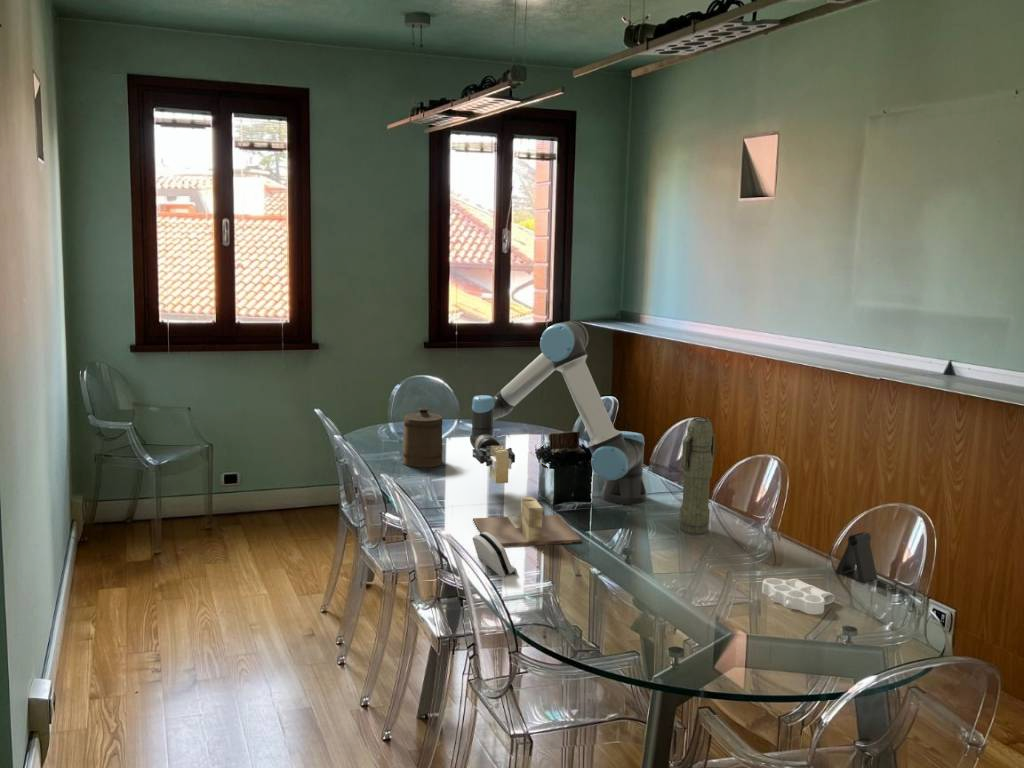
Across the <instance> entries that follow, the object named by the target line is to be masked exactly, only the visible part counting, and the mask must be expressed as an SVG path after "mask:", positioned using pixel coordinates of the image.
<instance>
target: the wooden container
mask: <svg viewBox="0 0 1024 768" xmlns="http://www.w3.org/2000/svg"><path fill="white" fill-rule="evenodd" d="M418 410H419V412H415V413H414V412H413V413H408V414H405V415H404V417H403V443H402V446H403V447H402V453H403V455H402V461H403V464H404V465H405V466H408V467H412V468H422V469H423V468H433V467H438V466H441V465H442V463H443V416H442V415H440V414H438V413H432V412H428V411H429V408H428V407H427V406H425V405H423V406H420V407H419V409H418Z"/></svg>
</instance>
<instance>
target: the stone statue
mask: <svg viewBox="0 0 1024 768" xmlns="http://www.w3.org/2000/svg"><path fill="white" fill-rule="evenodd" d="M686 432H687V433H686V435H685V436H684V438H683V440H682V451H681V453H682V454H681V467H682V476H683V484H682V485H683V489H682V502H681V503H682V504H681V506H680V509H679V531H680V532H681V533H684V534H688V535H693V536H699V535H706V534H707V533H708V532H709V525H710V511H711V510H710V507H709V503H710V502H709V500H710V498H709V496H710V488H711V487H710V483H711V482H710V481H711V478H712V476H713V466H714V462H715V447H716V446H715V445H716V436H715V433H713V432H714V428H713V425H712V421H711V420H709V419H708V418H704V417H695V418H692V419H690V421H689V423H688V425H687V430H686Z"/></svg>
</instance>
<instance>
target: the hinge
mask: <svg viewBox="0 0 1024 768" xmlns="http://www.w3.org/2000/svg"><path fill="white" fill-rule="evenodd" d="M472 541H473V545H474V549H475V553H476V555H477V558H478V559H480V560H481V561H482V562H483V563H484V564H485V565H487V566H488V568H490V569H491V570H493V572H495V573H496V574H497V575H498V576H499V577H500V578H505V577H506V575H507V574H512V573H514V574H515V575H516V576H517V575H519V573H518V570H517V568H516V567H515V566H514V565H512V564H511V561H510V559H509V556H508V555H507V551H506V549H505V547H503V546H502V545H501V544H500V542H499V541H498V540H497V539H496V538H495V537H494V536H492V535H491V534H490V533H488V532H483V533H479V535H478V534H475V535H474V536H473V537H472Z"/></svg>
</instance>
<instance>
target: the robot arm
mask: <svg viewBox="0 0 1024 768" xmlns="http://www.w3.org/2000/svg"><path fill="white" fill-rule="evenodd" d="M588 333H589V332H588V330H587V329H586V327H585V326H584V325H583V324H582V323H580V322H578V321H576V320H567V321H563V322H559V323H555V324H554V323H553V324H552V325H551V326H549V327H546V329H544V331H543V332H542V334H541V337H540V341H539V347H540V350H541V353H540V354H539V355H538V356H537V357H536V358H534V359H533V361H531V362H530V363H529V364H528V365H526V367H524V369H522V370H521V371H520V372H519V373H518V374H517V375H516V376H515V377H514V378H513V379H511V380H510V381H509V382H508V383H507V384H506V385H505V386H504V387H503V388H501V389H500V391H498V392H497V393H496V394H495V395H494V396H491V395H486V394H485V395H484V394H481V395H475V396H473V398H472V405H471V413H472V414H471V433H470V435H469V442H470V444H471V446H472V448H473V449H472V458H474V459H476V460H477V461H478V462H479V464H482V465H483V464H484V463H485V466H486V467H490V465H491V466H492V467H493V469H494V470H497V461H496V460H495V458H494V457H493V456H490V447H491V446H500V445H501V444H500V442H499V441H498V440H497V439H496V438H495V436H494V432H495V431H494V430H495V429H494V428H495V420H497V419H499V418H503V417H505V416H507V415H509V414H510V413H511V412H512V411H513V409H514V408H515V406H516V405H518V404H519V403H520V402H521V401H522V400H523V399H524V398H526V397H527V396H528V395H529V394H530V393H531V392H532V391H534V389H535V388H537V387H538V386H539V385H541V383H542V382H543V381H544V380H546V379H547V378H548V377H549V376H551V375H552V373H553V372H555V371H558V372H560V373H561V375H562V377H563V379H564V382H565V384H566V386H567V388H568V390H569V393H570V395H571V398H572V400H573V402H574V405H575V407H576V409H577V411H578V413H579V416H580V418H581V419H580V420H582V423H583V425H584V428H585V430H586V433H587V434H588V436H589V441H588V448H589V450H590V453H591V459H590V460H591V461H590V463H591V465H590V466H591V468H592V470H593V472H594V473H595V474H596V475H597V476H598V477H599V478H600V479H603V480H605V483H604V485H603V487H602V490H601V498H602V499H603V500H605V501H607V502H611V503H614V504H620V505H621V504H622V505H633V504H641V503H644V502H646V501H647V489H646V487H645V481H644V478H643V469H644V455H645V452H644V451H645V437H644V435H643V434H642V433H639V432H633V431H626V430H623V431H622V430H618V429H616V428H615V427H614V425H613V422H612V420H611V417H610V416H609V413H608V411H607V408H606V406H605V404H604V402H603V399H602V398H601V395H600V392H599V390H598V388H597V386H596V383H595V380H594V378H593V377H592V374H591V372H590V369H589V367H588V365H587V363H586V361H587V358H588V353H587V351H586V348H587V346H588V344H589V334H588ZM505 449H506V450H507V451H508V452H509V461H508V470H512V465H513V464H514V463H515V462H516V455H515V453H514V452H513V448H511V447H508V448H505Z"/></svg>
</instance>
